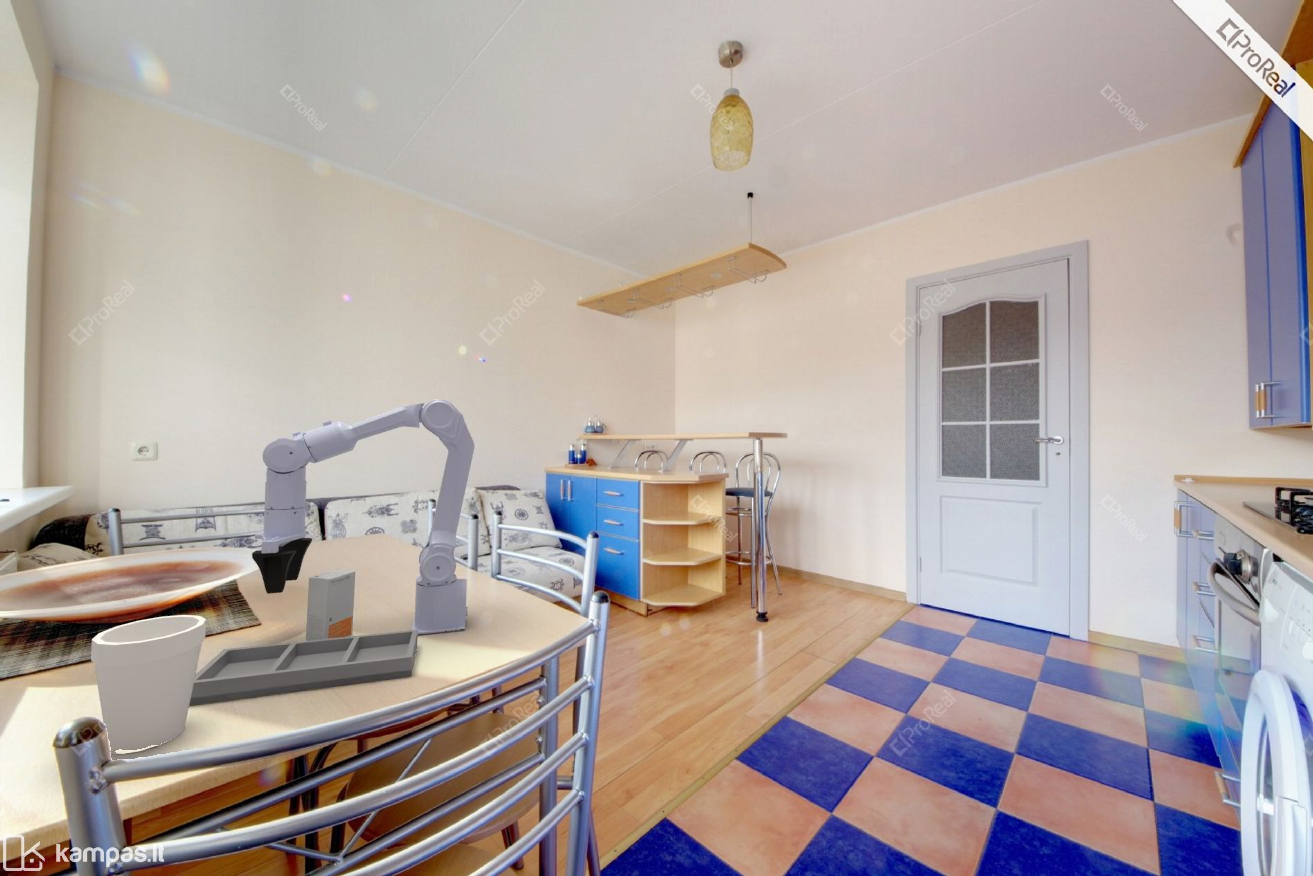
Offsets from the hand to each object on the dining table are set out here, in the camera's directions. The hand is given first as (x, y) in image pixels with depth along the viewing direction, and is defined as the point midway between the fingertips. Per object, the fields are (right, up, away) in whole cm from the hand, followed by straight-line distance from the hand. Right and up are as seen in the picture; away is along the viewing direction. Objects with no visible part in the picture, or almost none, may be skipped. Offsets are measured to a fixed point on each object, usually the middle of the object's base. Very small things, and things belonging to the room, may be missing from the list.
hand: (282, 586), depth 85 cm
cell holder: (+12, -11, -9) cm, 19 cm away
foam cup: (+4, -10, -26) cm, 29 cm away
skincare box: (+6, -11, +3) cm, 13 cm away
